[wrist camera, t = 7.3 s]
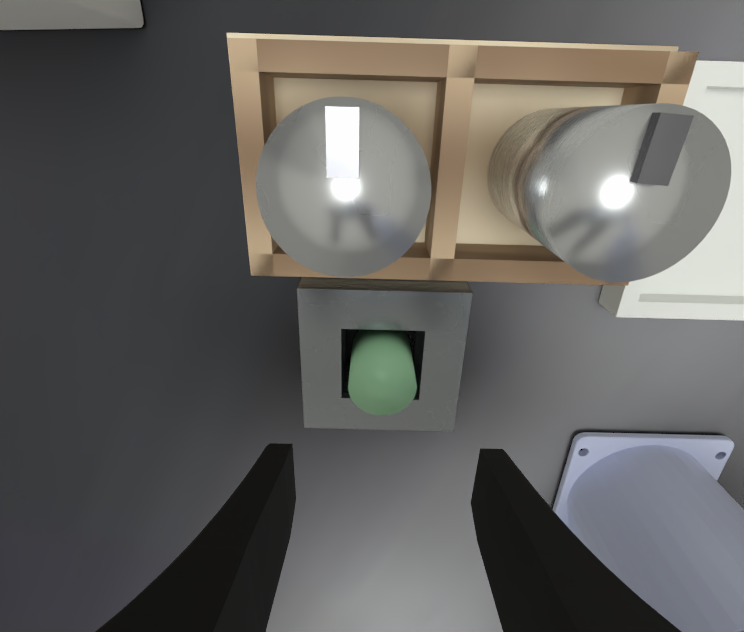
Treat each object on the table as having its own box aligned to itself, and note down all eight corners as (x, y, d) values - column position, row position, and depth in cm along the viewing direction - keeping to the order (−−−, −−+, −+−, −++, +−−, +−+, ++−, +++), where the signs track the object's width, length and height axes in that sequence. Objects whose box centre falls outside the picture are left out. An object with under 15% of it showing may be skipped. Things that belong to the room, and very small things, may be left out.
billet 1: (407, 223, 16) (425, 283, 10) (301, 220, 16) (260, 279, 10) (414, 105, 14) (440, 98, 9) (295, 102, 14) (243, 93, 9)
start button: (408, 372, 19) (414, 416, 16) (351, 371, 19) (348, 414, 16) (412, 321, 18) (419, 358, 15) (352, 320, 18) (348, 357, 15)
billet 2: (581, 230, 16) (696, 293, 10) (477, 221, 16) (535, 279, 10) (616, 113, 14) (776, 112, 9) (500, 102, 14) (584, 94, 9)
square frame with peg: (444, 392, 21) (453, 431, 18) (312, 389, 21) (304, 427, 18) (458, 268, 18) (472, 293, 15) (307, 264, 18) (296, 288, 15)
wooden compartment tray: (598, 267, 18) (641, 296, 15) (257, 258, 18) (235, 285, 15) (656, 51, 15) (725, 36, 12) (237, 38, 15) (203, 19, 12)
